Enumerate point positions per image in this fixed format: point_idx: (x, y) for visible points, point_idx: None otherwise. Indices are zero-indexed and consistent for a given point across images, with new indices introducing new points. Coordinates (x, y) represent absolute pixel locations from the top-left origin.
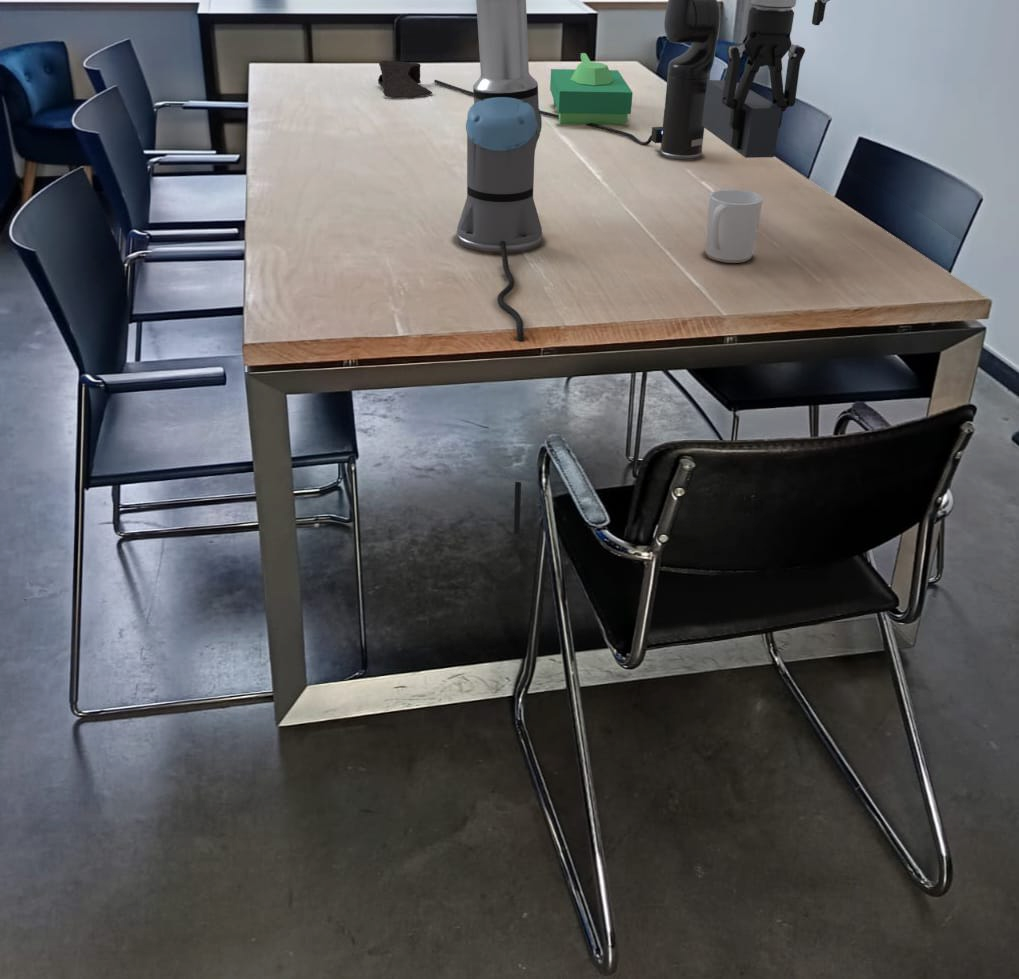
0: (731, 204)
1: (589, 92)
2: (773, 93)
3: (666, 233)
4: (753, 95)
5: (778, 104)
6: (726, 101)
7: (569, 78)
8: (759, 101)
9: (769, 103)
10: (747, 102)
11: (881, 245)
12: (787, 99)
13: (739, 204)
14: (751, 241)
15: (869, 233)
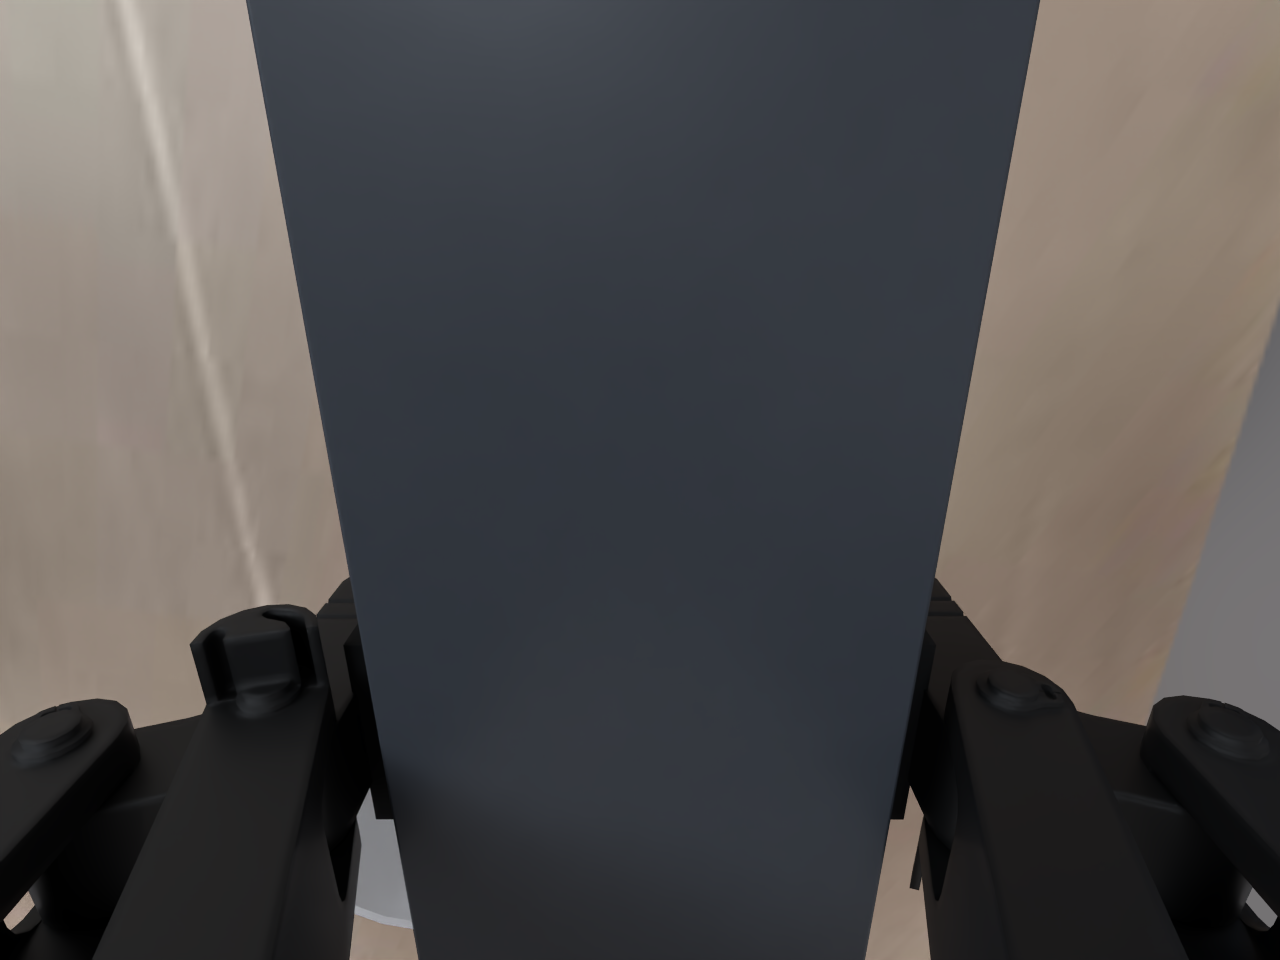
0: (362, 914)
1: None
2: (971, 916)
3: (289, 386)
4: (827, 251)
5: (929, 890)
6: (36, 917)
7: None
8: (706, 734)
9: (812, 848)
10: (464, 783)
11: (1104, 632)
12: (1159, 892)
13: (396, 925)
14: None
15: (1164, 505)
